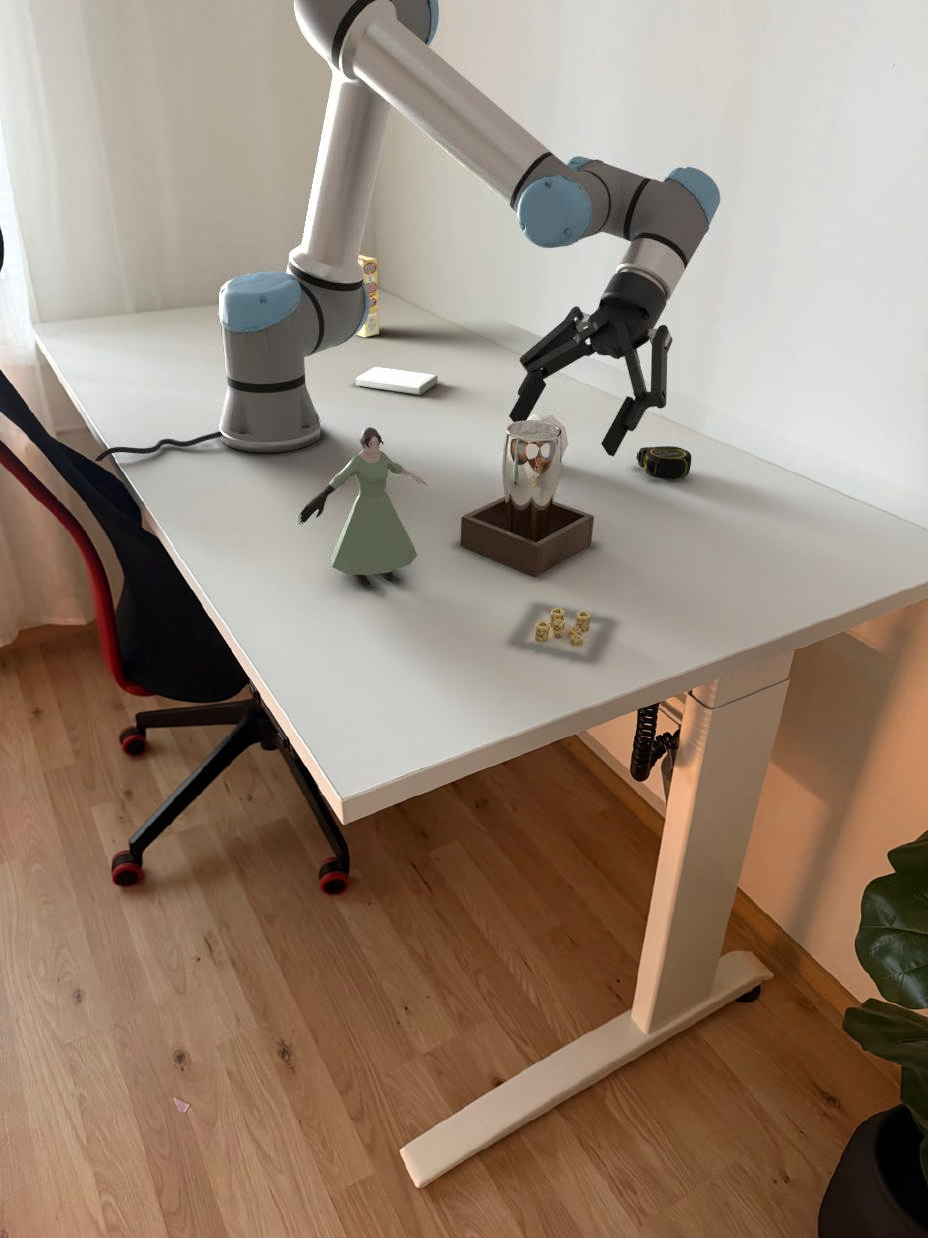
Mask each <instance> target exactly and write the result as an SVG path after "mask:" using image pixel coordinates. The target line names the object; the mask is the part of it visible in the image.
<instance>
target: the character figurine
mask: <svg viewBox="0 0 928 1238" xmlns="http://www.w3.org/2000/svg"><path fill="white" fill-rule="evenodd" d="M359 443H360V445H361V447H362V450H361V451H360V452H359V453H358V454H355V456H353V457H352V459H351V460H349V462H348V463H347V464H346V465H345V467H344V468H343V469H342V470H341V471H339V472H338V473H337V474H336V475H335V476H334V477H333V478H332V479H331V480H330V482H329V483H328V485H327V486H326V487H325V488H324V489H323V491H321V492H319V493H318V494H316V495H315V496H314V497H313V498H312V499H311V500H310V501H309V502H308V503H307V504H306V505H305V506H304V508H303V509H302V510H301V512H300V514H299V515H298V517H297V518H298V520H297V522H298V525H300V526H302V525H303V524H304V523H306V522H307V521H308V520H309V519H310V518H311V516H312V515H314V514H315V512H317V510H318V512H317V514H316V516H315V519H318V518H319V517H320V516H321V515H322V514H323V512H324V509H325V505H326V502H327V500H328V499H327V498H328V496H330V495H331V494H332V493H334V492H335V491H336V490H338V489H339V488H340V487H342V486H344V485H345V484H346V483H347V481H348V480H349V479H350V478H351V477H353V476H354V475H355V479H356V481H357V483H358V488H359V492H358V495H357V496H356V498H355V500H354V502H353V505H352V508H351V510H350V512H349V515H348V517H347V519H346V521H345V523H344V526H343V528H342V531H340V532H341V533H340V535H339V537H338V539H337V542H336V544H335V546H334V548H333V550H332V552H331V555H330V558H329V559H330V560H329V561H330V564H331V568H333V569H335V570H337V571H339V572H342V573H344V574H346V575H353V578H354V580H355V581H356V582H357V583H358V585H360V586H363V587H369V586H370V585H371V582H370V580H369V578H368V576H373V575H380V576H382V577H383V578H384V579H386V580H387V581H393V580H394V579H395V577H394V574H393V572H394V571H397V570H400V569H402V568H404V567H407V566H409V565H410V564H412V562H413V561H414V560H415V559H416V558H417V557H418V552H417V550H416V548H415V545H414V543H413V542H412V540H411V538H410V535H409V533H408V532H407V530H406V528H405V526H404V524H403V523H402V520H401V518H400V517H399V514H398V513H397V511H396V508H395V506H394V505H393V502H392V500H391V497H390V495H389V493H388V492H387V491H386V487H387V479H388V476H389V475H388V474H389V471H390V472H391V473H392V474H396V475H401V474H402V475H405V476H406V475H407V476H410V477H411V478H412V479H413V480H414V481H415V482H416V484H418V485H420V486H421V484H423V485H424V486H425V487H426V486H428V484H427V482H426V481H424V479H422V478H421V477H420V476H419V475H417V474H416V473H414V472H411V471H410V470H407V469H406V468H405V467H404V466H402V465H401V464H400V463H398V462H395V461H393V460H392V459H391V458H390V457H389V456H388V455H387V454H386V453H385V452H384V451H383V450H380V446H381V444H382V445H384V441H383V439H382V436H381V434H380V433H379V432H378V430H377V429H376V428H375V427H371V426H369V427H365V429H363V430H362V432H361V434H360V438H359Z"/></svg>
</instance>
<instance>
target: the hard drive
mask: <svg viewBox="0 0 928 1238" xmlns="http://www.w3.org/2000/svg"><path fill="white" fill-rule="evenodd" d="M438 380H439V379H438V375H436V374H430V373H429V374H428V373H422V372H416V371H409V370H408V371H407V370H401V369H394V368H385V367H379V366H374V367H372V368H370V369H369V370H367V371H365V372H364V373H362V374H361V375H359V376H357V377H356V379H355V386H358V387H359V386H361V387H365V388H372V389H378V390H384V391H391V392H396V393H397V392H398V393H404V394H409V395H418V396H421V395H422V394H425V392H427V391H428V390H430V389H431V388H432V387H434V386H436V385H437V384H438Z"/></svg>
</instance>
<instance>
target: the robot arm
mask: <svg viewBox="0 0 928 1238" xmlns="http://www.w3.org/2000/svg"><path fill="white" fill-rule="evenodd" d="M293 9H294V15H295V19H296V21H297V24H298V26H299V28H300V31H301V33H302V35H303V36H304V38H305V39H306V41H307V42H308V43H309V44H310V46H311V48H313V49H314V50H315V51H316V52H317V54H319V55H320V56H321V57H322V58H323V59H325V61H327V63H328V65H329V67H330V69H331V70H332V79H331V85H330V91H329V96H328V101H327V107H326V113H325V118H324V123H323V128H322V133H321V139H320V145H319V150H318V155H317V161H316V165H315V171H314V177H313V182H312V187H311V192H310V193H311V194H310V198H309V204H308V210H307V214H306V221H305V226H304V231H303V232H304V233H303V238H302V241H301V244H300V245H298V246H296V247H295V248H294V249H292V250H291V251H290V252H289V257H288V263H287V268H286V272H284V271H278V270H277V271H276V270H275V271H274V270H267V271H266V270H265V271H264V270H262V271H258V272H255V273H252V272H249V273H245V274H241V275H239V276H236V277H234V278H232V279H230V280H228V281H227V282H226V283H224V285H222V286H221V289H220V292H219V295H218V301H219V310H218V320H219V323H220V331H221V339H222V340H221V341H222V349H223V350H222V351H223V357H224V366H225V374H226V375H225V376H226V385H227V390H226V395H225V399H224V404H223V408H222V413H221V417H220V422H219V430H218V431H215V432H211V433H208V434H205V435H201V436H197V437H195V438H192V439H190V440H178V439H174V438H161V439H159V440H158V441H156V442H155V443H154V444H153V445H152V446H149V447H133V446H112V447H108V448H106V449H104V450H102V451H101V452H100V453H99V454H98V455H97V456H96V457H95V458H94V462H101V461H103V460H104V459H105V458H106V457H108V456H109V455H112V454H117V453H126V454H137V455H145V454H146V455H147V454H153V453H155V452H157V451H158V450H160V449H161V447H162V446H164V445H172V446H175V447H181V448H185V447H191V446H192V447H193V446H195V445H197V444H201V443H203V442H207V441H210V440H214V439H218V438H220V441H222V443H223V444H224V445H226V446H228V447H229V448H232V449H235V450H238V451H244V452H248V453H249V452H250V453H261V454H262V453H263V454H264V453H265V454H266V453H267V454H269V453H270V454H271V453H272V454H273V453H282V452H283V453H284V452H289V451H295V450H299V449H302V448H305V447H308V446H310V445H312V444H314V443H315V442H316V441H318V440H319V439H320V436H321V424H322V421H321V418H320V416H319V413H318V412H317V410H316V408H315V405H314V403H313V401H312V399H311V396H310V392H309V391H308V387H307V383H306V367H305V365H306V364H305V358H306V357H310V356H312V355H314V354H317V353H319V352H322V351H325V350H328V349H331V348H334V347H339V346H340V345H343V344H344V343H347V342H348V341H349V340H351V339H352V338H354V337H356V336H357V335H358V333H359V332H360V330H361V329H362V328H363V326H364V325H365V323H366V321H367V318H368V314H369V308H370V299H369V294H368V293H367V292H366V290H365V288H366V285H365V283H364V281H363V280H364V274H365V272H364V269H363V268H362V266H361V265H360V263H359V261H358V256H359V255H360V251H361V246H362V241H363V237H364V233H365V228H366V224H367V220H368V215H369V210H370V206H371V203H372V198H373V193H374V189H375V185H376V179H377V174H378V170H379V166H380V162H381V158H382V153H383V148H384V143H385V140H386V135H387V131H388V126H389V122H390V117H391V114H392V113H391V112H392V108H395V109H396V110H397V111H398V112H399V113H401V114H402V115H403V116H404V117H405V118H406V119H407V120H408V121H410V122H411V123H412V124H413V125H414V126H415V127H417V128H418V129H419V130H420V131H421V132H422V133H424V134H425V136H427V137H428V138H429V139H430V140H431V141H433V142H434V143H435V144H436V145H438V146H439V147H440V148H441V149H442V150H443V151H444V152H446V154H448V155H449V156H450V157H451V158H453V159H454V160H455V161H456V162H457V163H458V164H459V165H460V166H462V167H463V168H464V169H465V170H467V171H468V172H469V173H470V174H471V175H472V176H473V177H475V178H476V179H477V180H478V181H479V182H480V183H482V184H483V186H485V187H486V188H488V190H490V191H491V192H492V193H493V194H495V196H497V197H498V198H499V199H500V200H501V201H502V202H504V203H505V204H506V205H507V206H508V207H509V208H511V209H512V210H513V212H515V213H516V214H517V221H518V224H519V227H520V229H521V231H522V233H523V235H524V237H526V239H527V240H528V241H529V242H531V243H532V244H534V245H535V246H538V247H540V248H543V249H554V248H560V247H561V248H562V247H569V246H572V245H574V244H575V243H578V242H579V241H580V240H583V239H586V238H588V237H592V236H595V235H598V234H600V233H605V234H607V235H611V236H615V237H617V238H619V239H623V240H626V241H628V242H630V244H629V246H628V248H627V249H626V251H625V252H624V255H622V258H621V260H620V261H619V263H618V264H617V266H616V269H615V273H614V274H613V275H612V276H611V278H610V280H609V282H608V284H607V286H606V287H605V289H604V291H603V293H602V295H601V296H600V299H599V303H598V307H597V309H596V310H595V311H594V312H593V313H592V314H588V313H586V312H583V311H582V310H581V308H580V306H577V305H576V306H573V307H572V308H571V309H570V310H569V312H568V314H567V315H566V317H565V318H564V319H563V320H562V321H561V322H560V323H558V325H556V326H555V327H554V328H553V329H552V330H551V331H550V332H548V333H547V334H546V335H544V337H543V338H542V339H540V340H539V341H538V342H537V343H535V344H534V345H533V346H532V347H530V349H528V350H527V351H526V352H525V353H524V354H523V355H521V357H519V363H520V365H521V366H522V367H523V368H524V370H525V371H526V375H525V377H524V379H523V381H522V382H521V384H520V386H519V388H518V389H517V395H518V396H519V397H518V398H517V401H516V402H515V404H514V405H513V408H512V409H511V411H510V413H509V415H508V417H509V418H510V420H511V421H512V423H514V422H517V421H524V420H527V419H528V418H529V417H530V416H531V413H532V412H533V410H534V408H535V406H536V405H537V403H538V400H539V399H540V397H541V395H542V393H543V392H544V390H545V388H546V386H547V383H546V382H545V379H547V378H548V377H551V376H552V375H554V374H555V373H557V372H559V371H561V370H562V369H564V368H566V367H568V366H569V365H571V364H573V363H575V362H577V361H578V360H580V359H582V358H584V357H590V356H592V355H594V354H596V353H597V355H599V356H602V357H603V356H609V357H612V358H613V359H616V360H620V359H621V358H624V360H625V365H626V368H627V372H628V376H629V380H630V385H631V387H632V391H633V392H632V395H633V396H634V397H632V396H629V395H626V397H625V399H624V401H623V402H622V404H621V406H620V408H619V409H618V411H617V413H616V415H615V417H614V419H613V420H612V423H611V425H610V427H609V428H608V430H607V432H606V434H605V436H604V438H603V440H602V441H601V443H600V445H601V446H602V447H603V449H604V451H605V452H606V454H607V455H608V456H610V457H615V455H616V453H617V451H618V449H619V448H620V446H621V444H622V443H623V440H624V438H626V437H625V436H626V435H627V433H628V432H634V431H635V430H636V429H637V427H638V425H639V423H640V421H641V420H642V418H643V416H644V414H645V412H646V411H647V410H648V409H649V408H657V409H660V410H661V409H663V408H665V407H666V406H667V393H668V392H667V389H668V388H667V387H668V385H667V384H668V353H669V351H670V348H671V346H672V344H673V337H672V335H671V332H670V331H669V328H668V326H667V325H666V324H661V325H659V326H658V328H655V327H656V326H657V323H658V322H659V320H660V318H661V316H662V314H663V313H664V311H665V309H666V307H667V302H668V301H669V300H670V299H671V297H672V295H673V293H674V292H675V290H676V287H677V286H678V284H679V282H680V281H681V279H682V277H683V276H684V273H685V271H686V269H687V267H688V265H689V264H690V262H691V260H692V258H693V256H694V255H695V253H696V251H697V250H698V248H699V246H700V244H701V243H702V241H703V239H704V237H705V236H706V234H707V233H708V232H709V230H710V225H711V223H712V221H713V219H714V217H715V214H716V212H717V210H718V207H719V206H720V203H721V193H720V189H719V187H718V185H717V183H716V182H715V180H714V179H713V178H712V177H711V176H710V175H709V174H707V173H706V172H704V171H703V170H701V169H698V168H696V167H692V166H687V167H682V166H681V167H680V166H679V167H676V168H674V169H673V170H671V172H669V173H668V175H667V176H666V177H664V180H663V181H660V180H658V179H655V178H650V177H646V176H643V175H640V174H637V173H634V172H631V171H629V170H626V169H622V168H620V167H617V166H614V165H611V164H608V163H605V162H604V161H603V160H601V159H592V158H589V157H585V156H580V155H578V156H573V157H571V158H570V159H569V160H568V162H567V163H565V162H563V161H562V160H561V159H560V158H559V157H557V156H556V155H555V154H554V153H553V152H552V151H551V150H550V149H549V148H548V147H546V145H544V144H543V143H542V142H540V141H539V140H538V139H537V138H536V137H535V136H533V134H531V133H530V131H528V130H526V128H525V127H523V126H522V125H521V124H520V123H518V121H516V120H515V119H514V118H513V117H512V116H510V115H509V114H508V113H507V112H506V111H505V110H503V109H502V108H501V107H500V106H498V105H497V104H496V103H495V102H494V101H493V100H492V99H490V97H488V96H487V95H485V93H483V92H482V91H481V90H480V89H479V88H478V87H476V86H475V85H474V84H473V83H472V82H471V81H470V80H468V78H466V77H465V76H464V75H462V74H461V73H460V72H459V71H458V70H457V69H455V68H454V67H453V66H452V65H451V64H450V63H448V62H447V61H446V60H445V59H443V58H442V56H441V55H439V54H438V53H437V52H436V51H434V49H432V48H431V47H430V45H431V43H432V42H433V40H434V38H435V36H436V33H437V30H438V27H439V18H440V7H439V0H293ZM587 340H589V344H588V343H587V342H586V341H587ZM648 342H649V343H650V345H651V358H650V359H651V361H650V363H651V364H650V391H648V389H647V385H646V382H645V378H644V375H643V371H642V367H641V360H640V357H639V353H638V350H637V349H639V348H640V347H642V346H644V345H645V344H647V343H648Z"/></svg>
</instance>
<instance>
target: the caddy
mask: <svg viewBox="0 0 928 1238" xmlns="http://www.w3.org/2000/svg"><path fill="white" fill-rule="evenodd" d="M460 518H461V519H460V543H459V544H460V547H462V548H465V549H467V550H470V551H471V552H474V553H477V554H479V555H481V556H484V557H486V558H488V559H491V560H493V561H496V562H497V563H501V564H502V565H504V566H507V567H510V568H513V569H515V570H517V571H519V572H522V573H524V574H527V575H529V576H532V577H534V578H536V577H538V576H540V575H541V574H543V573H545V572H546V571H548V570H550V569H552V568H554V567H555V566H557V565H559V564H560V563H562V562H564V561H565V560H567V559H569V558H571V557H573V556H574V555H576V554H578V553H580V552H581V551H584V550H585V549H586V548H588V547H591V546H592V539H593V530H594V521H595V515H593V514H591V513H587V512H585V511H582V510H579V509H577V508H574V507H571V506H569V505H566V504H562V503H559V502H557V501H554V502H553V506H552V510H551V514H550V521H549V531H550V535H549V536H547V537H546V538H544V539H542V540H540V541H538V542H537V543H536V542H534V541H531V540H529V539H526V538H524V537H521V536H518V535H516V534H513V533H511V532H508V531H506V530H505V526H506V502H505V495H504V496H502V497H500V498H498V499H496V500H494V501H491V502H490V503H487V504H485V505H483V506H481V507H479V508H476V509H474V510H471V511H470V512H467V513H466V514H463V515H462V516H461V517H460Z"/></svg>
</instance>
